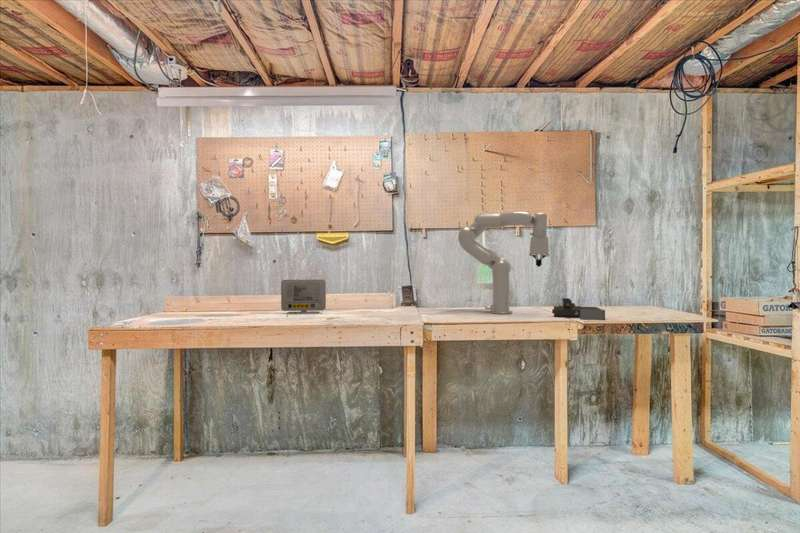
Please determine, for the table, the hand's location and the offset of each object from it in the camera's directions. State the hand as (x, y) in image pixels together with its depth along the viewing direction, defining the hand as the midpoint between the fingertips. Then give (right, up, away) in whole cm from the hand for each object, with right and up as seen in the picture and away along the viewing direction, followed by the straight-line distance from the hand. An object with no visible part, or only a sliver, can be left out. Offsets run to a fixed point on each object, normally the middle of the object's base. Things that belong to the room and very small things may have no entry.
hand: (538, 266), depth 238 cm
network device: (-137, -28, +8) cm, 140 cm away
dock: (+23, -28, -12) cm, 38 cm away
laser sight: (+16, -28, -10) cm, 34 cm away
